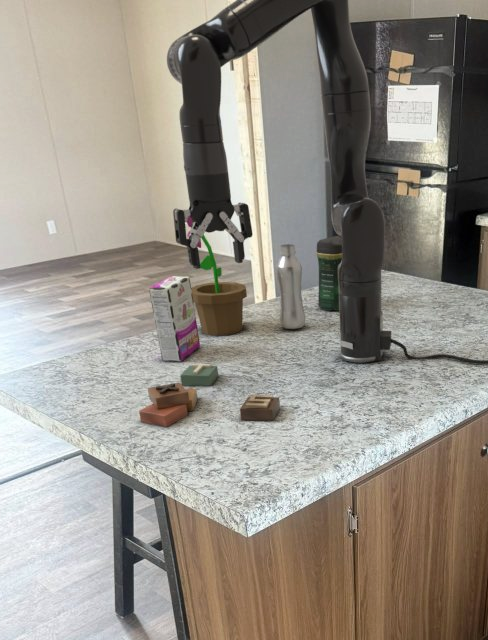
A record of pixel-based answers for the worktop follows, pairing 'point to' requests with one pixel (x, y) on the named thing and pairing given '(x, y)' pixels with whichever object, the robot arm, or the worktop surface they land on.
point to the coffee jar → (329, 271)
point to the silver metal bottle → (290, 288)
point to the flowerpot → (217, 299)
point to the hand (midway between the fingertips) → (218, 265)
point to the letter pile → (168, 404)
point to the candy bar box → (175, 318)
